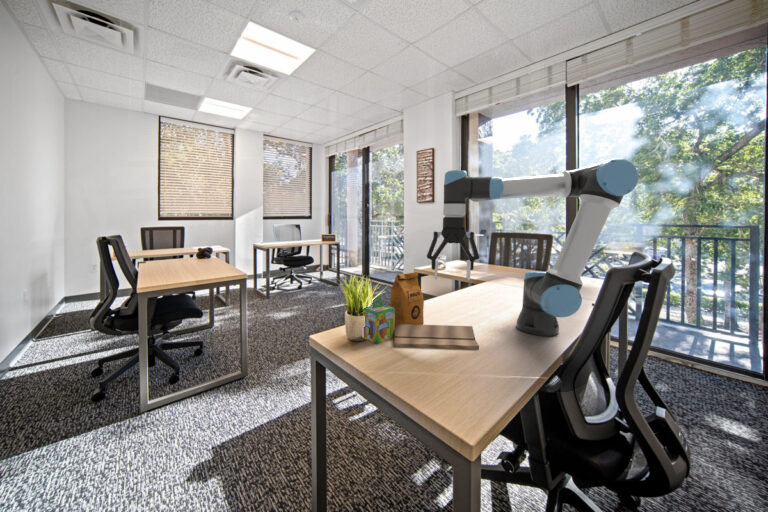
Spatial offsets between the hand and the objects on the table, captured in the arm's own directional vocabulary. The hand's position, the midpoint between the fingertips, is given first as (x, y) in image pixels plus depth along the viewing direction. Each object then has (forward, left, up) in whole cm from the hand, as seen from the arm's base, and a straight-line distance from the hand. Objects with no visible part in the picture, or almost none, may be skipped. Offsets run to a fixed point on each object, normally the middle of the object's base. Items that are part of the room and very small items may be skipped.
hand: (451, 278), depth 113 cm
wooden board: (+6, +5, -22) cm, 23 cm away
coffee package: (+15, -8, -22) cm, 28 cm away
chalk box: (+26, +2, -22) cm, 34 cm away
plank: (+6, +2, -20) cm, 21 cm away
